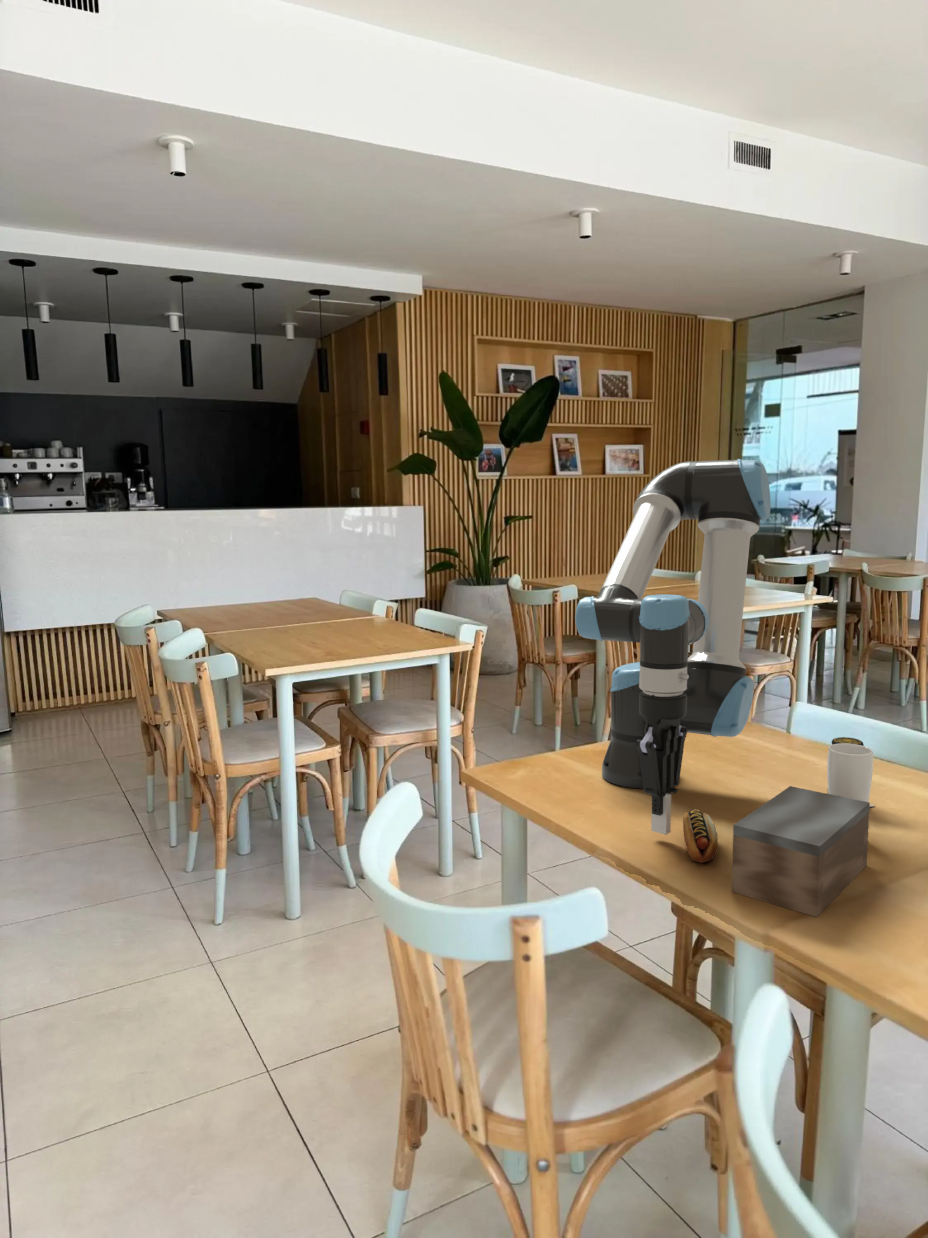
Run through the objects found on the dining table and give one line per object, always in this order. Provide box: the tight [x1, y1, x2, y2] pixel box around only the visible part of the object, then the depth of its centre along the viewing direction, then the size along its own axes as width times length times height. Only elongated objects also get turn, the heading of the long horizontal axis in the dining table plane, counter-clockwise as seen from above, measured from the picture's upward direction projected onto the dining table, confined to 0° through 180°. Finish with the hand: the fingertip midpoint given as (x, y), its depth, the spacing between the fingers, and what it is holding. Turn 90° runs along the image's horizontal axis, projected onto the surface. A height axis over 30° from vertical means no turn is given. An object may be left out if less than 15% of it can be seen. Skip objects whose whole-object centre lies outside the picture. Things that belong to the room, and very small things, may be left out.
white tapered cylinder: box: [826, 743, 874, 803], centre depth 142 cm, size 7×7×15 cm
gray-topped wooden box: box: [731, 785, 871, 918], centre depth 128 cm, size 12×21×10 cm, turn 139°
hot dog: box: [682, 808, 719, 864], centre depth 138 cm, size 5×13×5 cm, turn 170°
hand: (660, 831), depth 143 cm, fingers closed
